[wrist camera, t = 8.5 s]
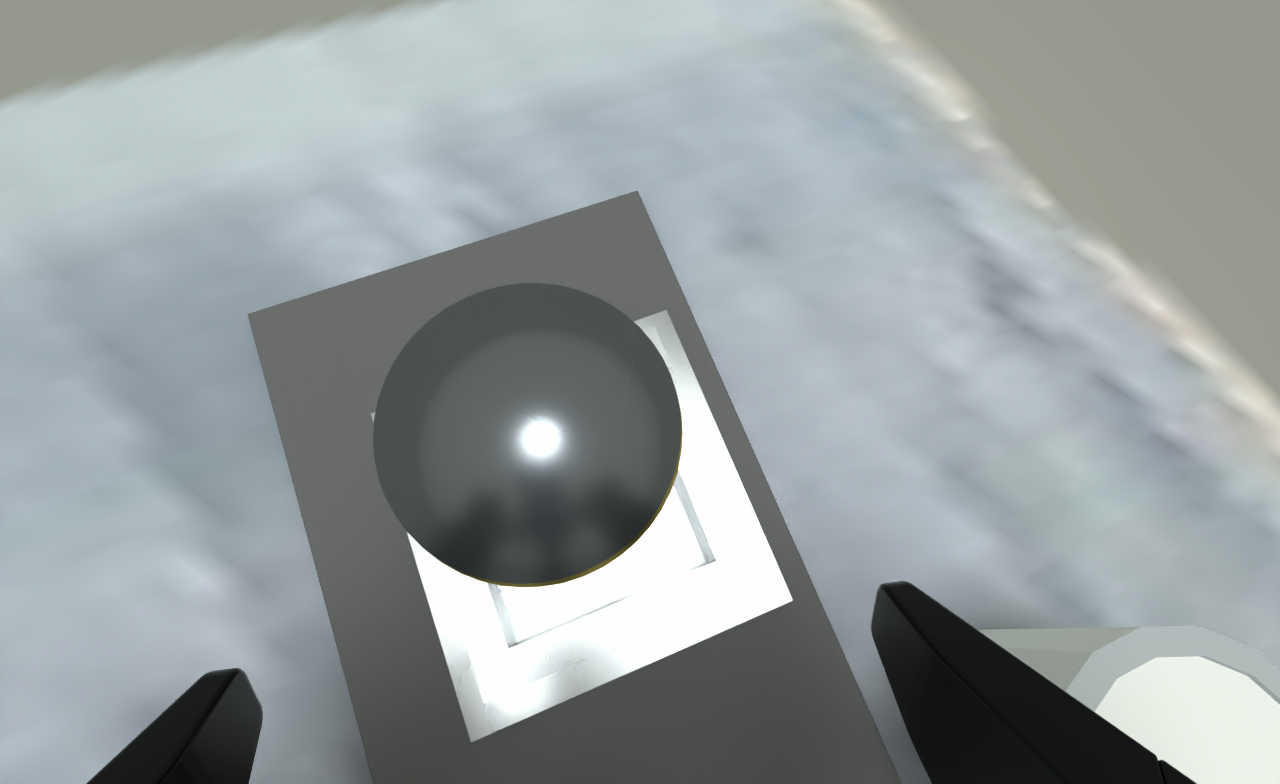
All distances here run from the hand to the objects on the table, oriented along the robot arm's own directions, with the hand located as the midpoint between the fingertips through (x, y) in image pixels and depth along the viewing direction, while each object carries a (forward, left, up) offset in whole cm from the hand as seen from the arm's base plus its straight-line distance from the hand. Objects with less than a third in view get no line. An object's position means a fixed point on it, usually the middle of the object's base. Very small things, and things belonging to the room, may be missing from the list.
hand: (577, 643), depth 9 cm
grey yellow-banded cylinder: (+3, -1, -10) cm, 11 cm away
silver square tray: (+3, -1, -11) cm, 11 cm away
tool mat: (+2, 0, -11) cm, 12 cm away
